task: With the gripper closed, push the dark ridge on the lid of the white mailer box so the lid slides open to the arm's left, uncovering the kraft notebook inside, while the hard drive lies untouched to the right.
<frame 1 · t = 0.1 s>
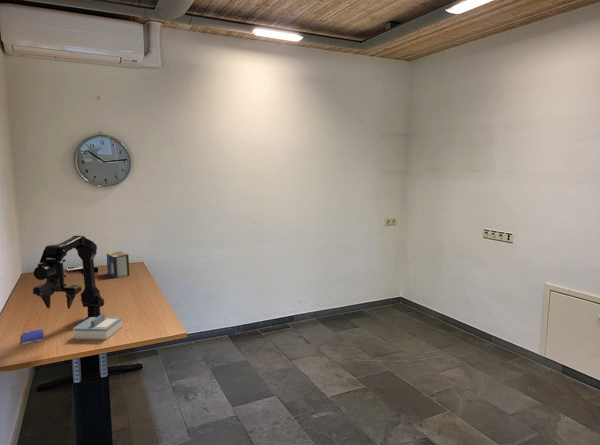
hand: (58, 308, 180), 15 cm above the table, tool pointing down, fingers open, 9 cm apart
lid: (98, 321, 188), point 6 cm above the table, slide at 0.0 cm
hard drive: (33, 339, 184), on the table
protein box: (118, 275, 295), on the table
mailer box: (98, 333, 189), on the table
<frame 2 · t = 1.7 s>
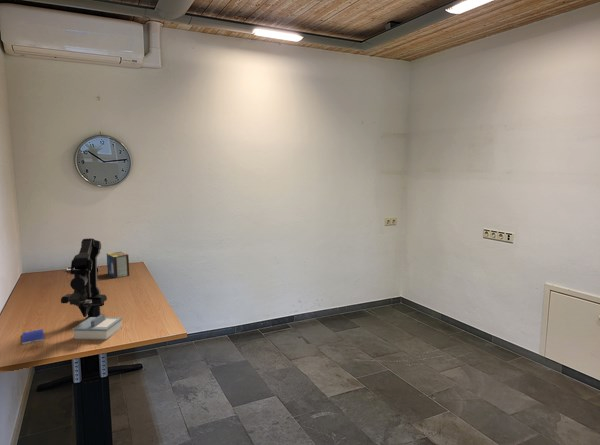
hand: (85, 316, 188), 8 cm above the table, tool pointing down, fingers closed
nothing on the table moved.
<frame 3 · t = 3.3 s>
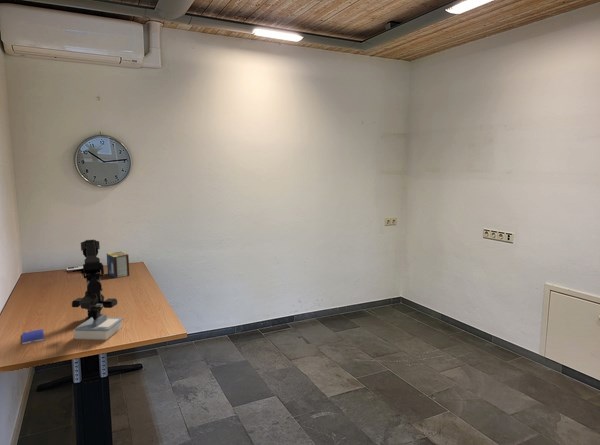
hand: (95, 320, 188), 6 cm above the table, tool pointing down, fingers closed
lid: (99, 321, 188), point 6 cm above the table, slide at 0.8 cm, touching gripper
everything else where it was.
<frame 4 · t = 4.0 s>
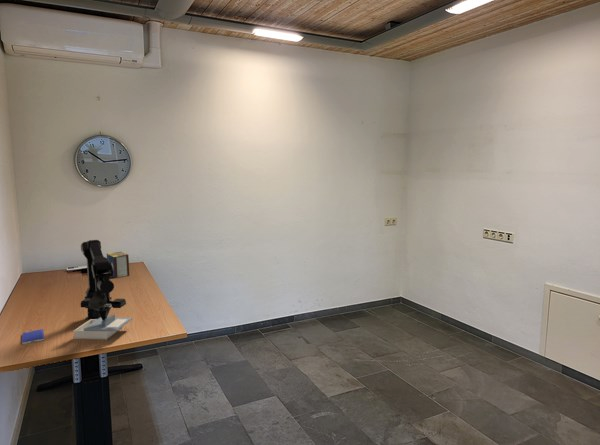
hand: (104, 320, 188), 6 cm above the table, tool pointing down, fingers closed
lid: (108, 321, 188), point 6 cm above the table, slide at 4.9 cm, touching gripper
everything else where it was.
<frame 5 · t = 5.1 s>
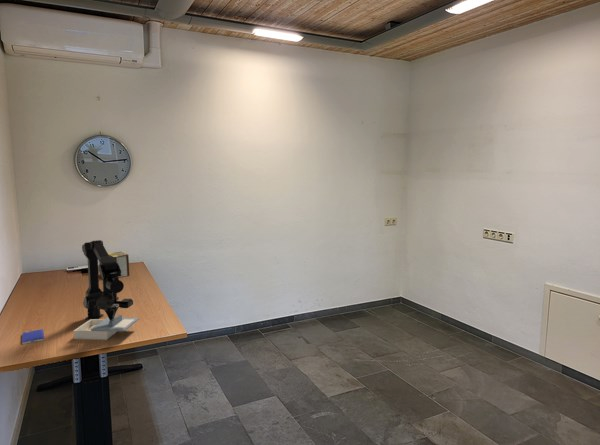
hand: (111, 321, 188), 6 cm above the table, tool pointing down, fingers closed
lid: (115, 321, 188), point 6 cm above the table, slide at 8.3 cm, touching gripper
everything else where it was.
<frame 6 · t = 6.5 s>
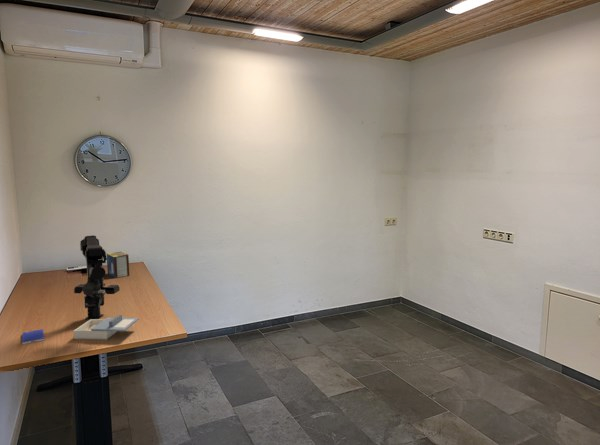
hand: (98, 306, 189), 12 cm above the table, tool pointing down, fingers closed
lid: (115, 321, 188), point 6 cm above the table, slide at 8.3 cm
everything else where it was.
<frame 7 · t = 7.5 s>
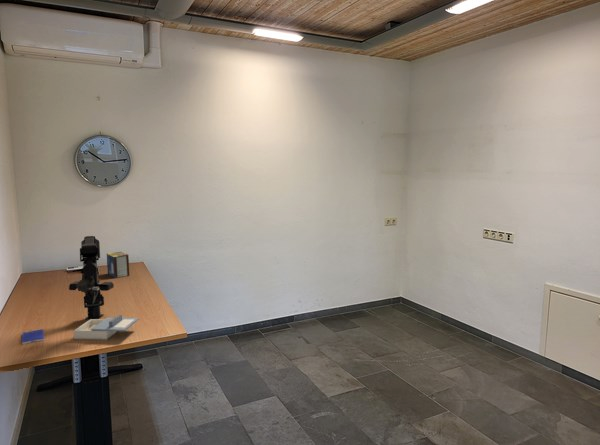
hand: (92, 303, 192), 13 cm above the table, tool pointing down, fingers closed
nothing on the table moved.
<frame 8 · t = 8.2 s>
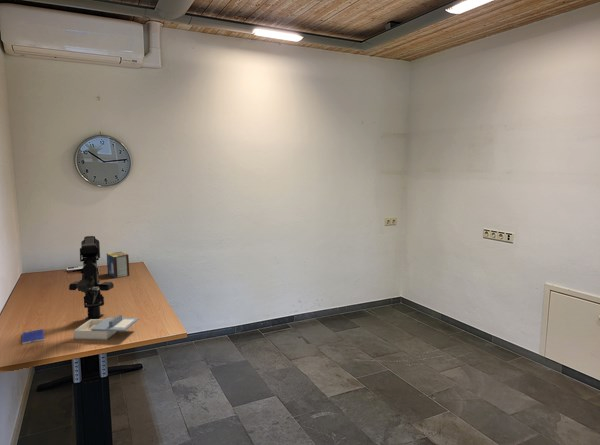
hand: (92, 303, 192), 13 cm above the table, tool pointing down, fingers closed
nothing on the table moved.
at the end: lid slide at 8.3 cm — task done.
